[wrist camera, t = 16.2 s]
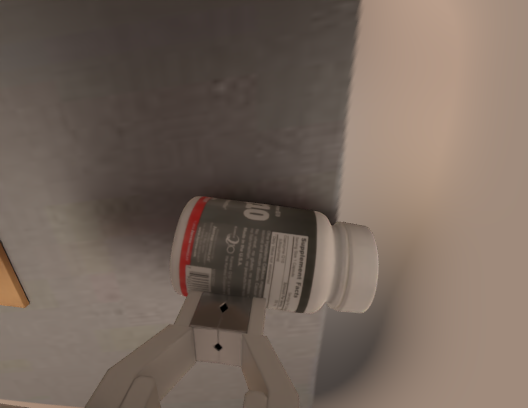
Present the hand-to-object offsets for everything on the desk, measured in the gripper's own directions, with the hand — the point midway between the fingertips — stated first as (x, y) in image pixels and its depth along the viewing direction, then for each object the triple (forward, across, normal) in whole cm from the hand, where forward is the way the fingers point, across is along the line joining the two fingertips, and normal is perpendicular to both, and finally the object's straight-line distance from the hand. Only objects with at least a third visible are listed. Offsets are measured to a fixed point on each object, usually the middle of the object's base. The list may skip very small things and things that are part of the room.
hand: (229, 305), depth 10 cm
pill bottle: (+3, +3, -1) cm, 4 cm away
